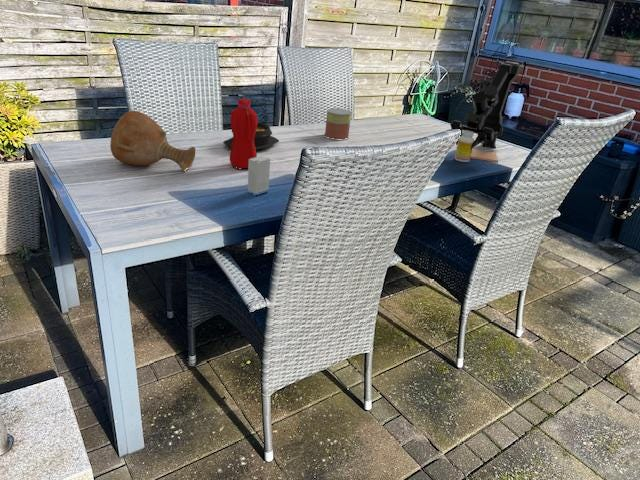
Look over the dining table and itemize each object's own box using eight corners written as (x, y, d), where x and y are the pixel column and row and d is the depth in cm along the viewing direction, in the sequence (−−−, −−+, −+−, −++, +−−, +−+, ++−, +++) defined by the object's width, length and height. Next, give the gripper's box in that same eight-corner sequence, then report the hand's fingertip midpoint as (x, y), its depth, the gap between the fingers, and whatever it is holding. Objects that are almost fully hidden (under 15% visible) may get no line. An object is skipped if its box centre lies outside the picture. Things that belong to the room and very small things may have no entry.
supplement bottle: (469, 163, 217) (476, 134, 211) (454, 161, 218) (460, 132, 212) (469, 159, 223) (475, 130, 217) (454, 156, 224) (460, 128, 218)
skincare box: (260, 188, 171) (261, 154, 166) (269, 192, 169) (270, 158, 163) (246, 193, 167) (247, 158, 161) (256, 197, 164) (257, 162, 159)
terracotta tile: (469, 150, 235) (469, 148, 234) (495, 154, 233) (495, 152, 232) (470, 158, 224) (470, 156, 224) (497, 162, 222) (498, 160, 222)
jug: (131, 119, 190) (206, 138, 189) (115, 165, 187) (191, 185, 186) (109, 96, 170) (193, 117, 169) (90, 147, 168) (175, 170, 166)
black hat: (241, 156, 199) (241, 136, 195) (214, 144, 210) (214, 124, 206) (288, 147, 215) (289, 128, 211) (260, 136, 226) (261, 117, 222)
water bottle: (237, 172, 183) (237, 103, 171) (227, 162, 191) (227, 96, 180) (260, 170, 187) (263, 103, 175) (250, 161, 195) (251, 96, 184)
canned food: (352, 137, 238) (355, 111, 232) (340, 141, 229) (343, 115, 224) (332, 132, 243) (335, 107, 237) (320, 136, 234) (322, 110, 229)
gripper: (456, 101, 217) (441, 130, 214) (498, 110, 208) (483, 141, 205) (459, 116, 226) (444, 144, 223) (500, 126, 217) (485, 155, 214)
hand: (463, 146), depth 216 cm, fingers closed on supplement bottle, 7 cm apart
